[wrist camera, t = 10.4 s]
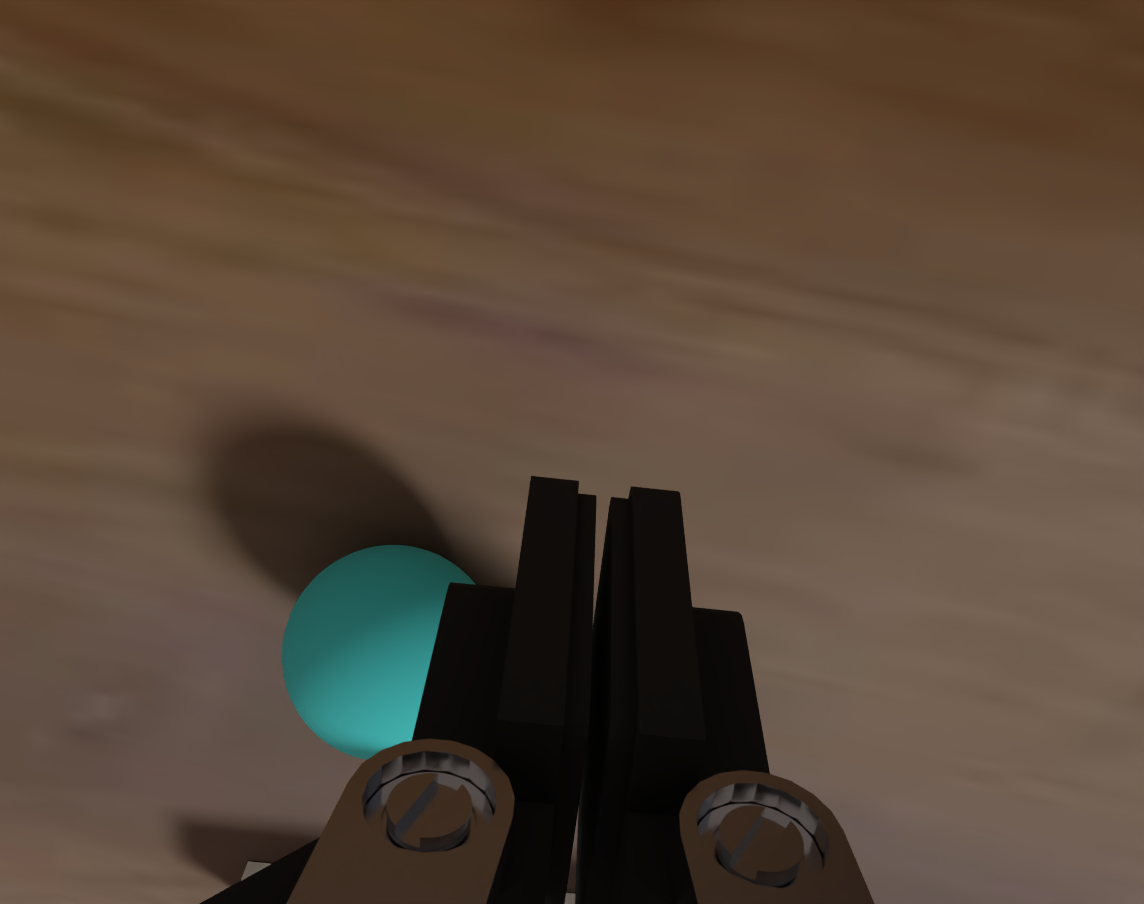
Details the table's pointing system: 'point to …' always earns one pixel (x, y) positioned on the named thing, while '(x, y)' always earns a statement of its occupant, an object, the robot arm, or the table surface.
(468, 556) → the table surface
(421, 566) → the ball
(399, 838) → the robot arm
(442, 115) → the table surface
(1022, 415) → the table surface
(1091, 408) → the table surface
